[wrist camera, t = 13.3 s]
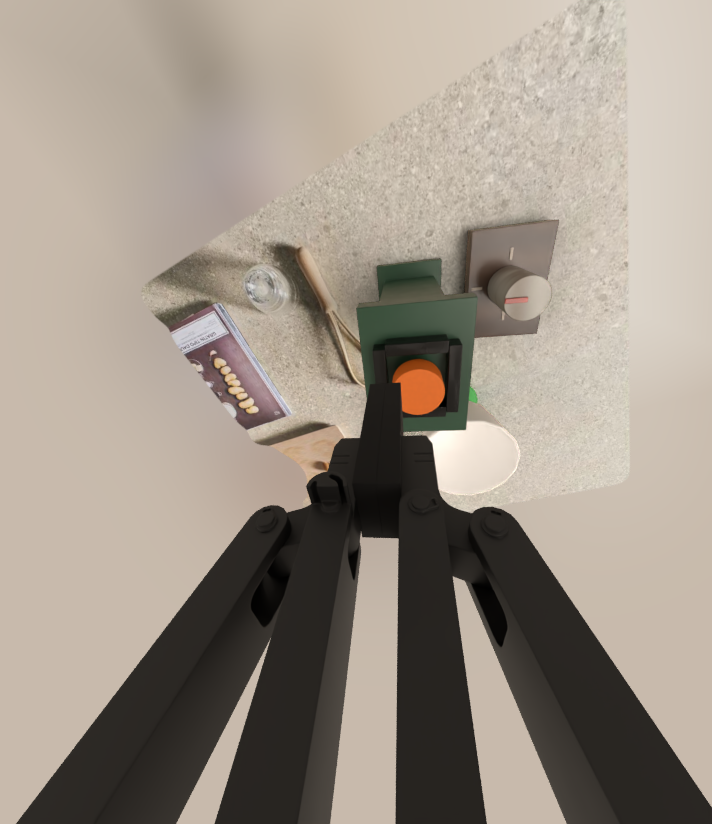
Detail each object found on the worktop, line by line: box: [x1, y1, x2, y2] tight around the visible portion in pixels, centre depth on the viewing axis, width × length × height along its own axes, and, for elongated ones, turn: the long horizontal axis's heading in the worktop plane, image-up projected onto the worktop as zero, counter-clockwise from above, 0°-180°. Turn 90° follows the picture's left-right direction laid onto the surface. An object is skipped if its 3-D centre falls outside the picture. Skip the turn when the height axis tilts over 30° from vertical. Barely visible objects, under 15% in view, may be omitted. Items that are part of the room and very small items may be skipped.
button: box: [392, 359, 445, 415], centre depth 24 cm, size 4×4×2 cm
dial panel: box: [464, 220, 559, 338], centre depth 42 cm, size 14×10×3 cm
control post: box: [356, 258, 478, 432], centre depth 36 cm, size 12×9×26 cm
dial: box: [488, 266, 552, 321], centre depth 37 cm, size 5×5×8 cm
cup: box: [422, 387, 521, 495], centre depth 48 cm, size 14×14×16 cm
